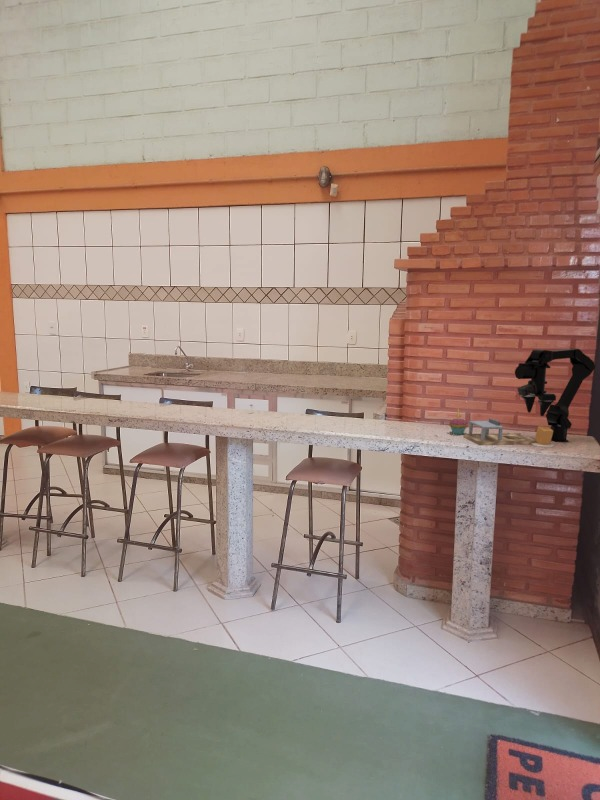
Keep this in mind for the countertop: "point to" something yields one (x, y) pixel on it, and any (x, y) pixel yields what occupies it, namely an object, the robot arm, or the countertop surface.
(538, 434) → the block
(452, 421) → the cupcake
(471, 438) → the board
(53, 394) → the countertop surface
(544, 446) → the dish
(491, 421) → the grey toy table
